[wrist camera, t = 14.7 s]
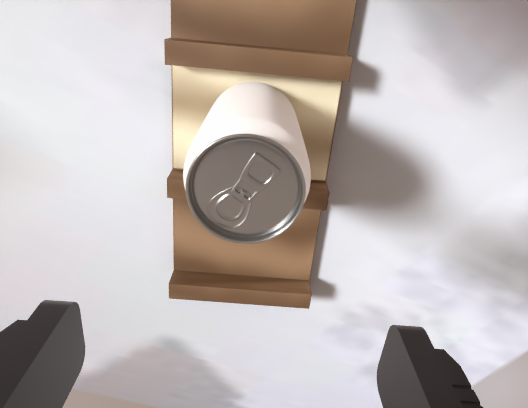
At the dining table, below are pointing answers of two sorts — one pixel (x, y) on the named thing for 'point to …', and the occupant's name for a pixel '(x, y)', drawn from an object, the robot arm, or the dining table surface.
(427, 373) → the robot arm
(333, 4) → the notch rack
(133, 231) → the dining table surface
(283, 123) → the can
